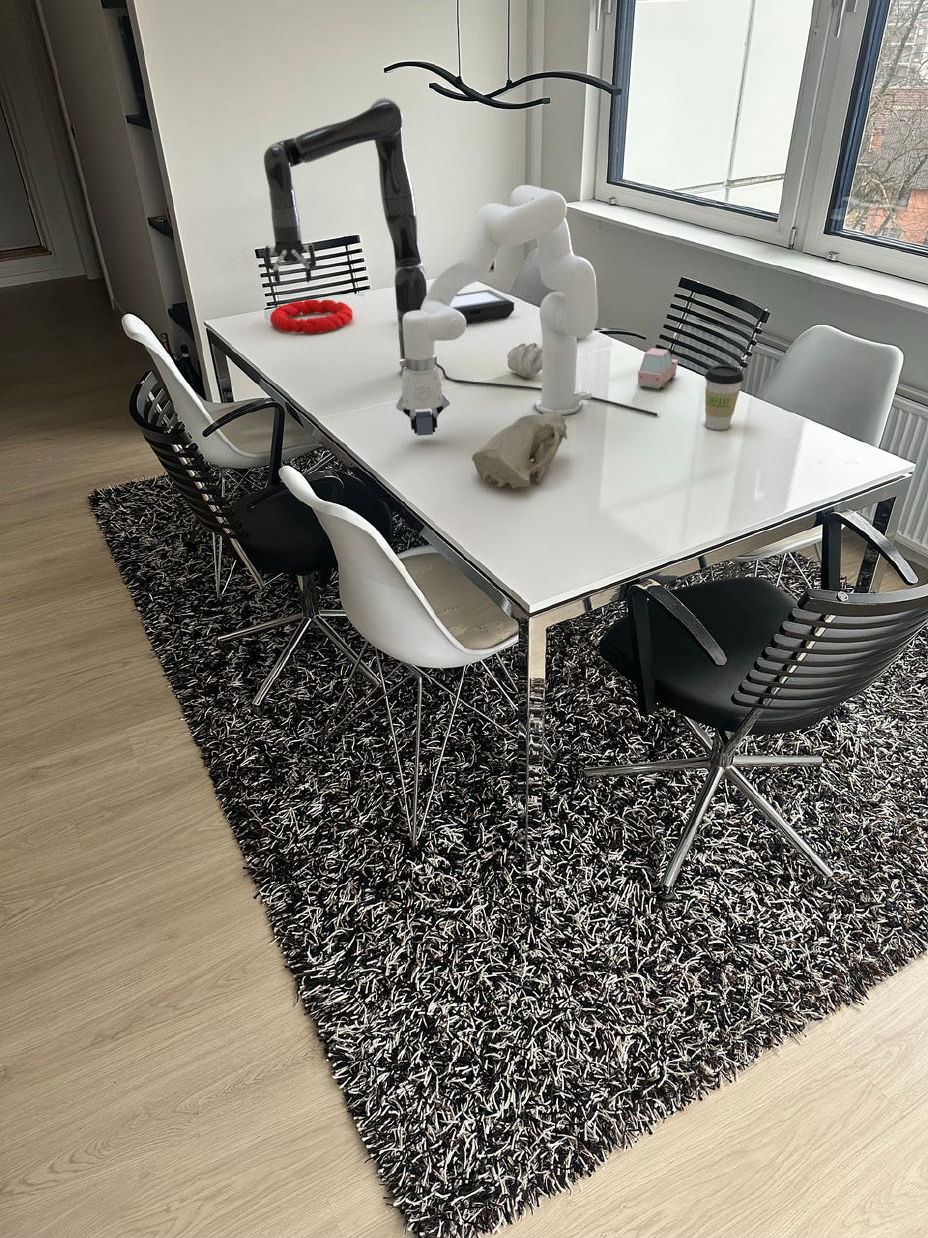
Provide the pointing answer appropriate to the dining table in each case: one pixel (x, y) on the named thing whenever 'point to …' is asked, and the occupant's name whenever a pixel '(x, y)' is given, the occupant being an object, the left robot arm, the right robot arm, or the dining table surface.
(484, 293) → the electronic device
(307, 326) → the decorative ring
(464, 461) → the dining table surface
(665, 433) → the dining table surface
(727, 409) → the coffee cup
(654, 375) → the toy car
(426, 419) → the block
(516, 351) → the seashell
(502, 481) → the animal skull
